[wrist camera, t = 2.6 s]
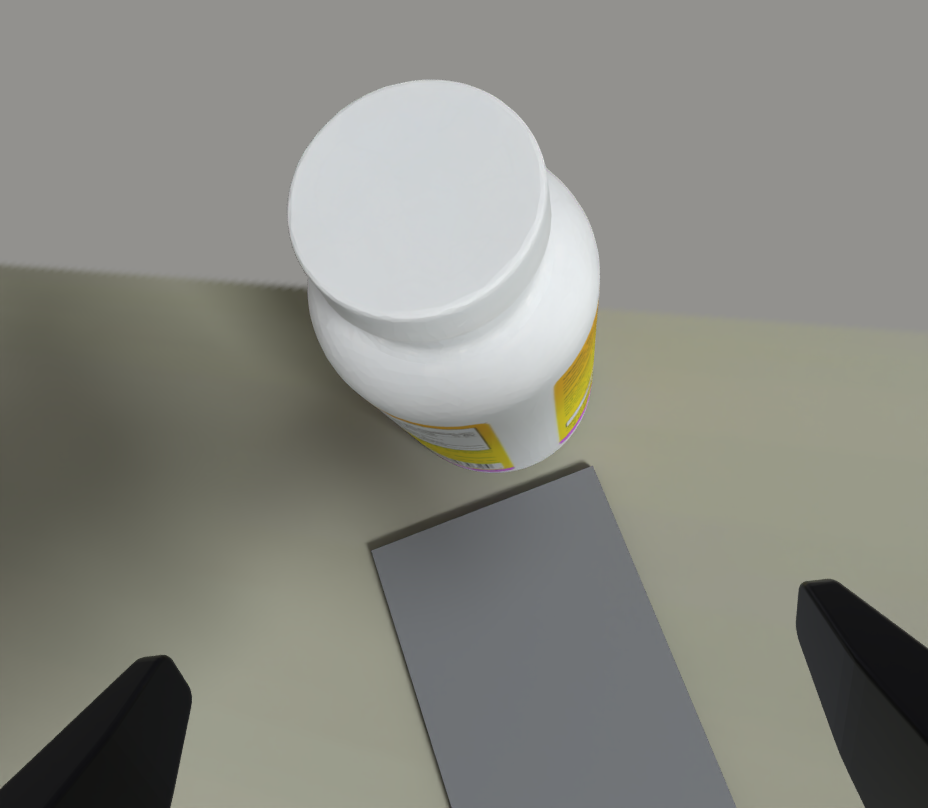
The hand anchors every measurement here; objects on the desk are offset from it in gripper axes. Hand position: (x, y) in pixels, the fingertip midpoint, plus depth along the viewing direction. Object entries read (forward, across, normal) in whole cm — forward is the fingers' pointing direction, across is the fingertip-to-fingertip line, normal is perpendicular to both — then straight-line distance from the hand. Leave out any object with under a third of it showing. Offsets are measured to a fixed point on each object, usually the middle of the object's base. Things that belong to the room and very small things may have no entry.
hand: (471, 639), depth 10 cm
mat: (+7, 0, +11) cm, 13 cm away
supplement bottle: (+15, 0, +4) cm, 15 cm away
